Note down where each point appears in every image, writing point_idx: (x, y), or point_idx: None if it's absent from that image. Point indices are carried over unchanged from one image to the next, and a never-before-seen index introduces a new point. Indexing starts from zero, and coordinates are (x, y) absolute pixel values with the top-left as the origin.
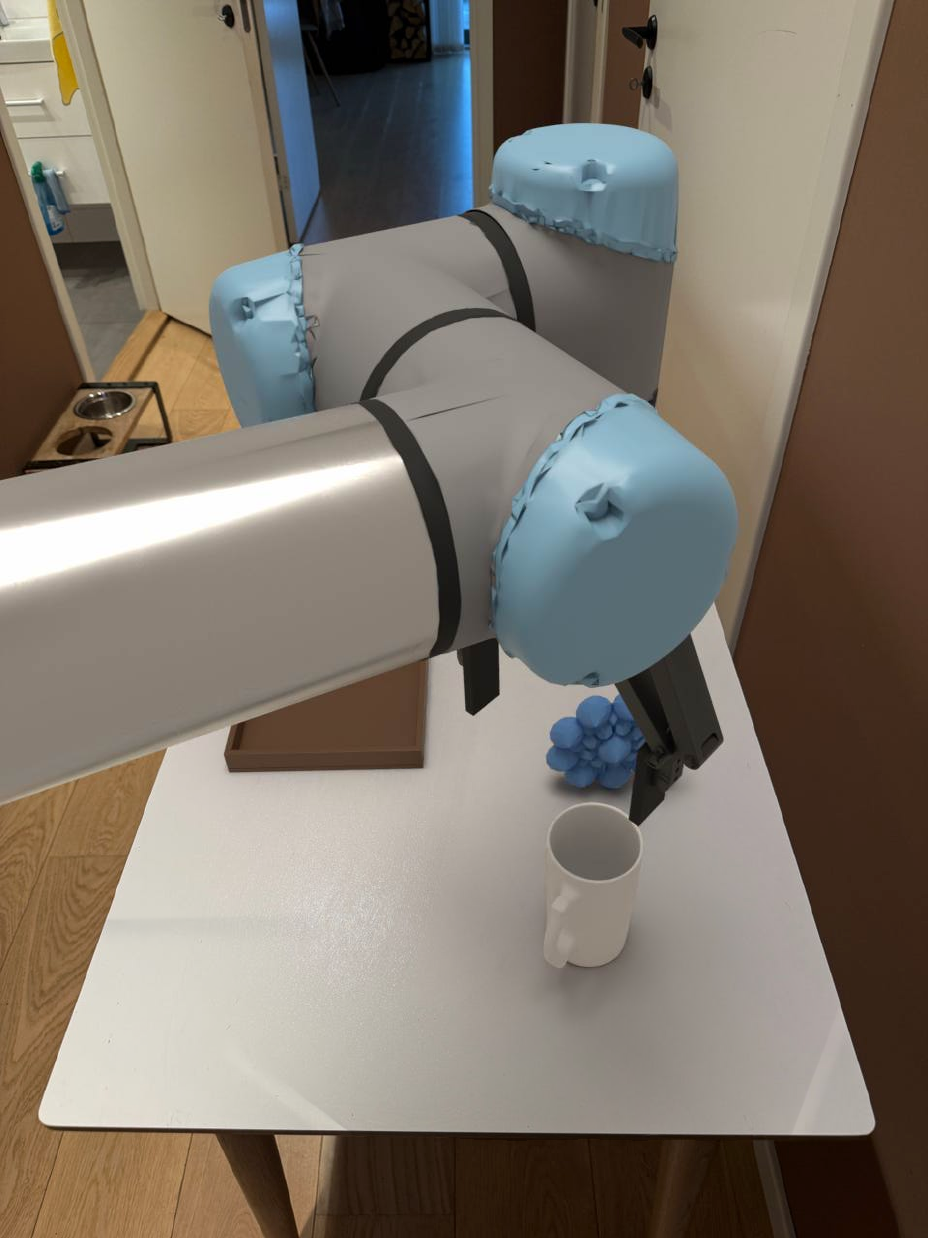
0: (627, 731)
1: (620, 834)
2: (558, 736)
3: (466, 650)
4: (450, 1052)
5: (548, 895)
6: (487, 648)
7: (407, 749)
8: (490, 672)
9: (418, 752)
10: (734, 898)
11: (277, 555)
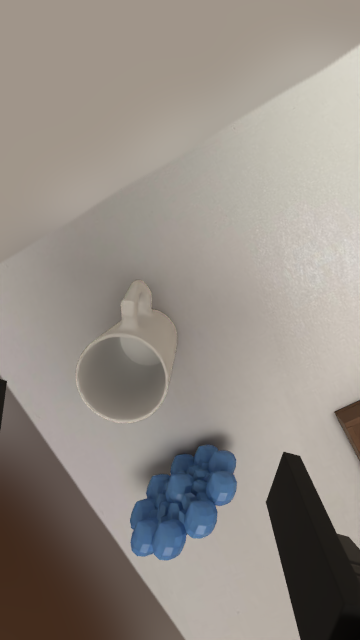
0: (168, 508)
1: (119, 403)
2: (225, 480)
3: (348, 585)
4: (193, 206)
5: (163, 331)
6: (308, 599)
7: (356, 419)
8: (287, 538)
9: (345, 421)
10: (69, 406)
11: None
